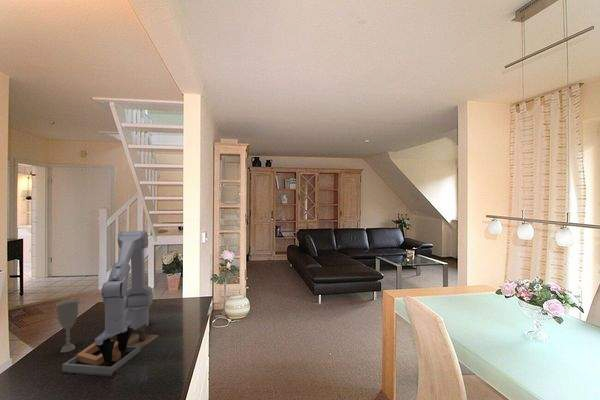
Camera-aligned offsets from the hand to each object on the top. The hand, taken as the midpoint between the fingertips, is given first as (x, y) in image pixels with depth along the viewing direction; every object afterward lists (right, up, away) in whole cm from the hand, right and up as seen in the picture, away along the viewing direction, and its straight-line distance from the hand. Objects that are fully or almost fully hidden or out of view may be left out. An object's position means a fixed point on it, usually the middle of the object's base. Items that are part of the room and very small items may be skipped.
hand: (115, 355), depth 98 cm
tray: (-4, -3, +1) cm, 5 cm away
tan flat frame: (-5, -1, +2) cm, 6 cm away
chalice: (-23, -3, +8) cm, 24 cm away
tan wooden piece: (-1, -3, +14) cm, 14 cm away
